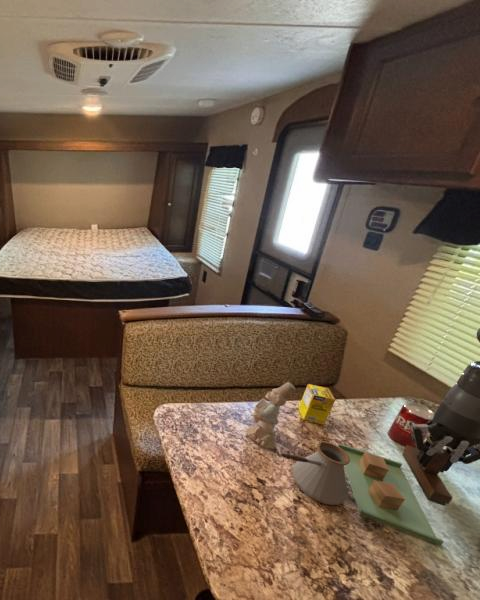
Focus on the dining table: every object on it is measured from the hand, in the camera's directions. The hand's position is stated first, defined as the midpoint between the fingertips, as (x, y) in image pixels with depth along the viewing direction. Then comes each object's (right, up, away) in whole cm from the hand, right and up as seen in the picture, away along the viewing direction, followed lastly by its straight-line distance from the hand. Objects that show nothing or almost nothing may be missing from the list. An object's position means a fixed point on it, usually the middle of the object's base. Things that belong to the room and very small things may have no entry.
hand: (429, 466), depth 73 cm
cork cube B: (-8, -10, +4) cm, 13 cm away
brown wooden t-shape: (0, -4, +2) cm, 4 cm away
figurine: (-27, -3, +22) cm, 35 cm away
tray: (-5, -10, +7) cm, 13 cm away
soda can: (+16, -5, +22) cm, 28 cm away
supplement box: (-6, 0, +30) cm, 31 cm away
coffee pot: (-26, -10, +6) cm, 29 cm away
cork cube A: (-4, -7, +11) cm, 14 cm away
